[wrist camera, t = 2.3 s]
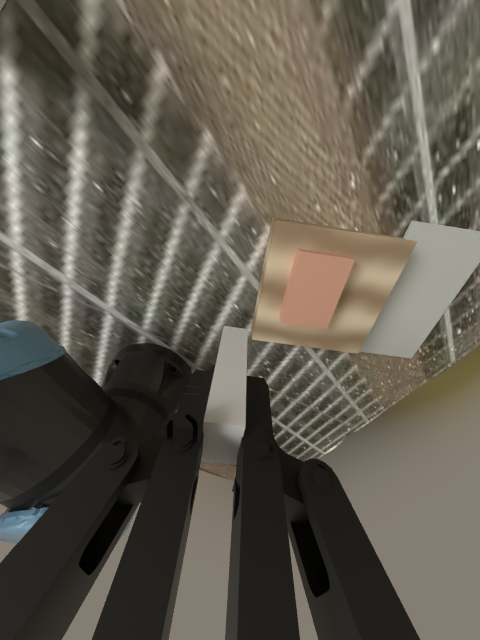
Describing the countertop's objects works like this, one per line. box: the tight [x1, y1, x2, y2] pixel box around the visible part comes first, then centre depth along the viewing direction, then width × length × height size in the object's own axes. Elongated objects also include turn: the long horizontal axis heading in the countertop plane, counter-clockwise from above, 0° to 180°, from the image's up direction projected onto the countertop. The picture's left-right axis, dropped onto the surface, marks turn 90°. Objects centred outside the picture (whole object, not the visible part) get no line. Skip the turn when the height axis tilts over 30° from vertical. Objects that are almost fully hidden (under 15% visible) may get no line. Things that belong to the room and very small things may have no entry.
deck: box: [252, 218, 417, 354], centre depth 28 cm, size 16×16×4 cm
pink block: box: [279, 248, 355, 329], centre depth 25 cm, size 9×6×2 cm, turn 172°
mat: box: [359, 221, 480, 359], centre depth 30 cm, size 20×11×1 cm, turn 172°
